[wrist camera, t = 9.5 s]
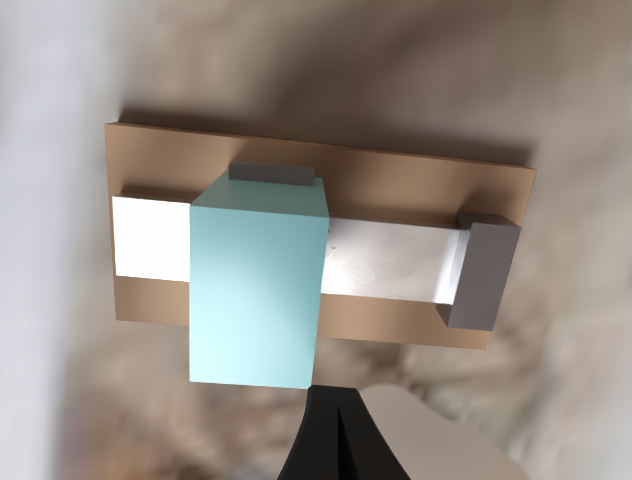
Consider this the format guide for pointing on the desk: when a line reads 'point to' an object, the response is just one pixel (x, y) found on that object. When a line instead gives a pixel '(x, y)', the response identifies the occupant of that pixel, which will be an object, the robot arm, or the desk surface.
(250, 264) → the block
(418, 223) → the rail
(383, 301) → the mounting board
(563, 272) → the desk surface
